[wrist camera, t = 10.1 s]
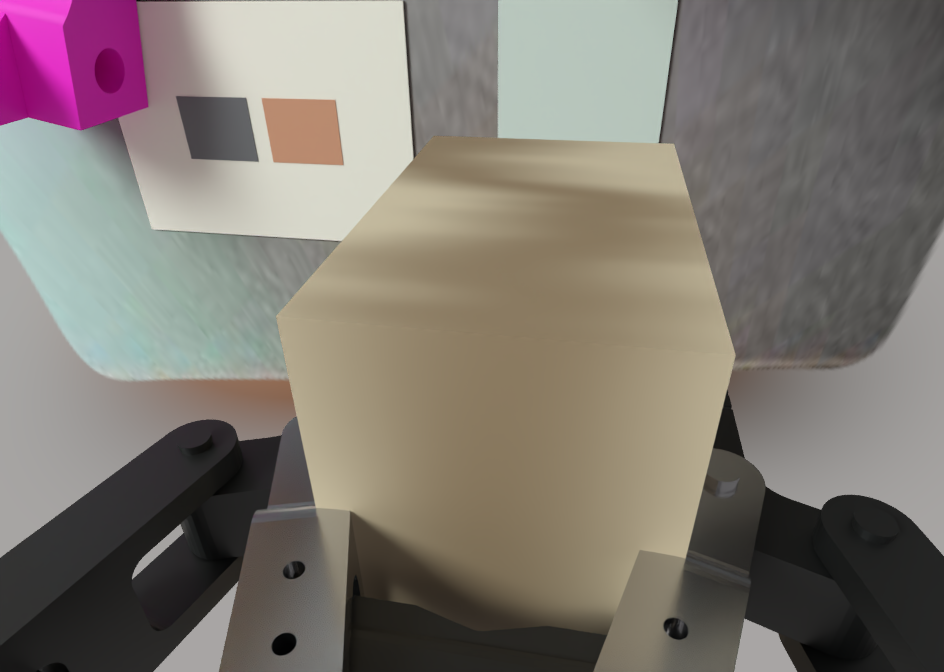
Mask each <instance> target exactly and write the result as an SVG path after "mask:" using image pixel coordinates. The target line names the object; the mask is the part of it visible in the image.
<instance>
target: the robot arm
mask: <svg viewBox="0 0 944 672" xmlns="http://www.w3.org/2000/svg"><path fill="white" fill-rule="evenodd" d="M179 524H181V527H182V529H183V532H184V533H183V534H182V535H181V536H180V537H179V538H178V539H177V540H176V541H174V542H173V543H172V544H171V545H170V546H169V547H168V548H167V549H166V550H164V552H162V553H161V554H160V555H159V556H158V557H157V558H156V559H154V560H153V561H152V562H151V563H150V564H149V565H148V566H147V567H146V568H145V569H143V570H142V571H141V572H140V573H139V574H138V575H137V576H136V577H135V578H133V579H132V575H133V572H134V569H135V567H136V565H137V564H138V562H139V561H140V560H141V559H142V557H144V556H145V555H146V554H147V553H148V552H149V551H150V550H151V549H152V548H153V547H155V546H156V545H157V544H158V543H159V542H160V541H161V540H163V539H164V538H165V537H166V536H167V535H168V534H169V533H170V532H172V531H173V530H174V529H175V528H176V527H177V526H178V525H179ZM238 581H239V582H238ZM237 582H238V587H237V591H236V596H235V600H234V605H233V609H232V614H231V618H230V623H229V628H228V632H227V637H226V641H225V646H224V650H223V656H222V660H221V664H220V669H219V672H734V669H735V664H736V658H737V654H738V648H739V643H740V638H741V633H742V628H743V622H744V618H745V619H747V620H749V621H752V622H754V623H756V624H759V625H761V626H763V627H766V628H768V629H770V630H773V631H775V632H777V633H779V637H780V640H781V642H782V644H783V646H784V648H785V650H786V651H787V653H788V655H789V657H790V659H791V660H792V662H793V664H794V666H795V668H796V670H797V672H944V556H943V555H942V554H941V553H940V551H939V550H938V549H937V548H936V547H935V546H934V545H933V543H932V542H930V540H929V539H928V538H927V537H926V536H925V534H924V533H923V532H922V531H921V530H920V529H919V528H918V526H917V525H916V524H915V523H914V522H913V521H912V520H911V519H910V518H908V517H907V516H906V515H905V514H903V513H902V512H900V511H899V510H897V509H896V508H894V507H892V506H890V505H888V504H886V503H884V502H881V501H879V500H876V499H873V498H869V497H865V496H860V495H842V496H837V497H834V498H832V499H830V500H828V501H827V502H826V503H825V504H824V506H823V508H822V510H819V509H817V508H814V507H811V506H808V505H805V504H802V503H799V502H797V501H794V500H791V499H788V498H786V497H783V496H781V495H779V494H777V493H775V492H773V491H772V490H770V489H769V488H767V487H766V486H765V481H764V479H763V476H762V475H761V473H760V472H759V470H758V469H757V468H756V467H755V466H754V465H752V464H751V463H750V462H749V461H747V460H746V459H745V457H744V454H743V450H742V446H741V442H740V438H739V434H738V430H737V426H736V422H735V418H734V414H733V410H731V402H730V398H729V396H728V390H727V392H726V396H725V400H724V404H723V408H722V412H721V416H720V420H719V425H718V429H717V433H716V437H715V441H714V445H713V449H712V453H711V457H710V461H709V465H708V469H707V473H706V477H705V482H704V486H703V490H702V494H701V498H700V502H699V506H698V510H697V514H696V518H695V522H694V526H693V530H692V534H691V539H690V543H689V547H688V551H687V555H686V558H682V557H677V556H672V555H667V554H661V553H656V552H650V551H644V550H640V551H639V553H638V556H637V558H636V561H635V564H634V566H633V569H632V571H631V574H630V577H629V579H628V582H627V585H626V587H625V590H624V592H623V595H622V598H621V600H620V603H619V606H618V608H617V611H616V613H615V616H614V619H613V621H612V624H611V627H610V629H609V632H608V634H607V635H603V634H596V633H590V632H584V631H577V630H571V629H565V628H558V627H552V626H539V627H527V628H515V629H503V630H491V631H477V630H473V629H470V628H468V627H465V626H463V625H461V624H458V623H456V622H454V621H452V620H449V619H447V618H445V617H442V616H440V615H438V614H435V613H433V612H431V611H428V610H426V609H424V608H421V607H419V606H417V605H413V604H406V603H400V602H394V601H387V600H381V599H375V598H368V597H365V595H364V589H363V583H362V577H361V571H360V566H359V560H358V554H357V548H356V542H355V536H354V530H353V524H352V518H351V512H350V511H347V510H339V509H326V508H316V506H315V501H314V496H313V491H312V486H311V482H310V477H309V472H308V467H307V462H306V458H305V453H304V448H303V443H302V439H301V434H300V429H299V424H298V419H297V416H296V417H295V418H293V419H292V420H291V421H290V422H289V423H288V424H287V425H286V426H285V428H284V430H283V432H282V435H281V436H276V437H270V438H262V439H254V440H245V441H238V437H237V434H236V431H235V429H234V428H233V426H231V425H230V424H228V423H226V422H224V421H220V420H200V421H195V422H191V423H188V424H185V425H183V426H180V427H178V428H177V429H175V430H173V431H172V432H170V433H168V434H167V435H166V436H165V437H163V438H162V439H160V440H159V441H158V442H156V443H155V444H154V445H152V446H151V447H149V448H148V449H147V450H145V451H144V452H143V453H141V454H140V455H139V456H137V457H136V458H135V459H133V460H132V461H131V462H129V463H128V464H127V465H125V466H124V467H122V468H121V469H120V470H118V471H117V472H116V473H114V474H113V475H112V476H110V477H109V478H108V479H106V480H105V481H103V482H102V483H101V484H99V485H98V486H97V487H95V488H94V489H93V490H91V491H90V492H89V493H87V494H86V495H85V496H83V497H82V498H80V499H79V500H78V501H76V502H75V503H74V504H72V505H71V506H70V507H68V508H67V509H66V510H64V511H63V512H62V513H60V514H59V515H58V516H56V517H55V518H53V519H52V520H51V521H49V522H48V523H47V524H46V525H44V526H43V527H41V528H40V529H39V530H37V531H36V532H35V533H33V534H32V535H30V536H29V537H28V538H26V539H25V540H24V541H22V542H21V543H20V544H18V545H17V546H16V547H14V548H13V549H11V550H10V551H9V552H7V553H6V554H5V555H3V556H2V557H1V558H0V672H153V671H154V670H155V669H156V668H157V667H158V666H159V665H160V664H161V663H162V662H163V661H164V659H165V658H166V657H167V656H168V655H169V654H170V653H171V652H172V651H173V650H174V649H175V648H176V646H178V645H179V644H180V643H181V641H182V640H183V639H184V638H185V637H186V636H187V635H188V634H189V633H190V632H191V631H192V629H194V627H196V626H197V624H198V623H199V622H200V621H201V620H202V619H203V618H204V617H205V616H206V615H207V614H208V612H210V611H211V610H212V608H213V607H214V606H215V605H216V604H217V603H218V602H219V601H220V600H221V599H222V598H223V597H224V596H225V595H226V593H227V592H228V591H229V590H230V589H231V588H232V587H233V586H234V585H235V584H236V583H237Z"/></svg>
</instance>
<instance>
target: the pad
mask: <svg viewBox="0 0 944 672" xmlns="http://www.w3.org/2000/svg"><path fill="white" fill-rule="evenodd" d="M677 5H678V0H498V138H514V139H544V140H574V141H604V142H634V143H659V136H660V129H661V122H662V115H663V107H664V100H665V93H666V85H667V78H668V71H669V64H670V56H671V49H672V42H673V35H674V27H675V20H676V13H677Z"/></svg>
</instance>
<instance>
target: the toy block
mask: <svg viewBox="0 0 944 672" xmlns="http://www.w3.org/2000/svg"><path fill="white" fill-rule="evenodd" d="M147 107H148V98H147V89H146V81H145V72H144V63H143V55H142V46H141V38H140V29H139V20H138V12H137V3H136V0H0V126H1V125H4V124H7V123H11V122H14V121H17V120H21V119H24V118H28V117H29V118H33V119H37V120H41V121H45V122H49V123H53V124H57V125H61V126H65V127H69V128H73V129H77V130H84V129H87V128H90V127H93V126H95V125H98V124H101V123H104V122H107V121H110V120H113V119H116V118H119V117H121V116H124V115H127V114H130V113H133V112H136V111H139V110H142V109H144V108H147Z"/></svg>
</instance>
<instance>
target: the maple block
mask: <svg viewBox="0 0 944 672" xmlns="http://www.w3.org/2000/svg"><path fill="white" fill-rule="evenodd" d="M276 319H277V323H278V328H279V333H280V338H281V343H282V347H283V352H284V357H285V362H286V367H287V371H288V376H289V381H290V386H291V391H292V395H293V400H294V404H295V409H296V415H297V419H298V424H299V429H300V434H301V439H302V443H303V448H304V453H305V458H306V462H307V467H308V472H309V477H310V482H311V486H312V491H313V496H314V501H315V506H316V508H326V509H339V510H347V511H350V512H351V518H352V524H353V530H354V536H355V542H356V548H357V554H358V560H359V566H360V571H361V577H362V583H363V589H364V595H365V597H368V598H375V599H381V600H387V601H394V602H400V603H406V604H413V605H417V606H419V607H421V608H424V609H426V610H428V611H431V612H433V613H435V614H438V615H440V616H442V617H445V618H447V619H449V620H452V621H454V622H456V623H458V624H461V625H463V626H465V627H468V628H470V629H473V630H477V631H491V630H503V629H515V628H527V627H539V626H552V627H558V628H565V629H571V630H577V631H584V632H590V633H596V634H603V635H607V634H608V632H609V629H610V627H611V624H612V621H613V619H614V616H615V613H616V611H617V608H618V606H619V603H620V600H621V598H622V595H623V592H624V590H625V587H626V585H627V582H628V579H629V577H630V574H631V571H632V569H633V566H634V564H635V561H636V558H637V556H638V553H639V551H640V550H644V551H650V552H656V553H661V554H667V555H672V556H677V557H682V558H686V555H687V551H688V547H689V543H690V539H691V534H692V530H693V526H694V522H695V518H696V514H697V510H698V506H699V502H700V498H701V494H702V490H703V486H704V482H705V477H706V473H707V469H708V465H709V461H710V457H711V453H712V449H713V445H714V441H715V437H716V433H717V429H718V425H719V420H720V416H721V412H722V408H723V404H724V400H725V396H726V392H727V388H728V384H729V380H730V375H731V372H732V368H733V363H734V359H735V352H734V348H733V345H732V342H731V338H730V335H729V331H728V328H727V324H726V321H725V317H724V314H723V311H722V307H721V304H720V300H719V297H718V293H717V290H716V287H715V283H714V280H713V276H712V273H711V269H710V266H709V263H708V259H707V256H706V252H705V249H704V245H703V242H702V239H701V235H700V232H699V228H698V225H697V221H696V218H695V215H694V211H693V208H692V204H691V201H690V197H689V194H688V191H687V187H686V184H685V180H684V177H683V173H682V170H681V167H680V163H679V160H678V156H677V153H676V149H675V146H674V144H663V143H634V142H604V141H574V140H544V139H514V138H484V137H454V136H433V137H432V139H431V140H430V141H429V142H428V143H427V144H426V145H425V147H424V148H423V149H422V150H421V151H420V152H419V153H418V155H417V156H416V157H415V158H414V159H413V160H412V162H411V163H410V164H409V165H408V166H407V167H406V168H405V170H404V171H403V172H402V173H401V174H400V175H399V176H398V178H397V179H396V180H395V181H394V182H393V183H392V184H391V186H390V187H389V188H388V189H387V190H386V191H385V192H384V194H383V195H382V196H381V197H380V198H379V199H378V200H377V202H376V203H375V204H374V205H373V206H372V207H371V208H370V210H369V211H368V212H367V213H366V214H365V215H364V216H363V218H362V219H361V220H360V221H359V222H358V223H357V224H356V226H355V227H354V228H353V229H352V230H351V231H350V232H349V234H348V235H347V236H346V237H345V238H344V239H343V240H342V242H341V243H340V244H339V245H338V246H337V247H336V248H335V250H334V251H333V252H332V253H331V254H330V255H329V256H328V258H327V259H326V260H325V261H324V262H323V263H322V264H321V266H320V267H319V268H318V269H317V270H316V271H315V272H314V274H313V275H312V276H311V277H310V278H309V279H308V281H307V282H306V283H305V284H304V285H303V286H302V287H301V289H300V290H299V291H298V292H297V293H296V294H295V295H294V297H293V298H292V299H291V300H290V301H289V302H288V303H287V305H286V306H285V307H284V308H283V309H282V310H281V311H280V313H279V314H278V315H277V316H276Z"/></svg>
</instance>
